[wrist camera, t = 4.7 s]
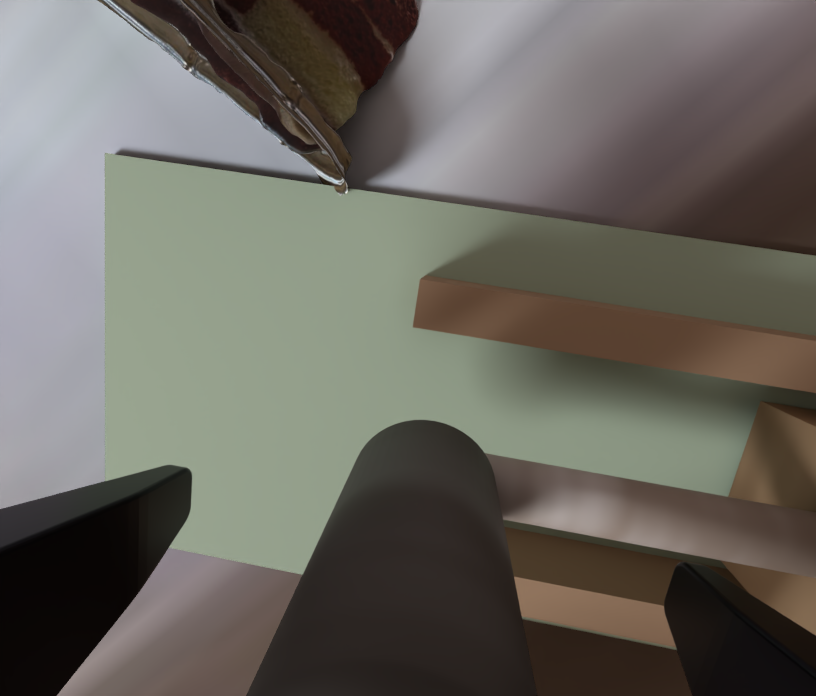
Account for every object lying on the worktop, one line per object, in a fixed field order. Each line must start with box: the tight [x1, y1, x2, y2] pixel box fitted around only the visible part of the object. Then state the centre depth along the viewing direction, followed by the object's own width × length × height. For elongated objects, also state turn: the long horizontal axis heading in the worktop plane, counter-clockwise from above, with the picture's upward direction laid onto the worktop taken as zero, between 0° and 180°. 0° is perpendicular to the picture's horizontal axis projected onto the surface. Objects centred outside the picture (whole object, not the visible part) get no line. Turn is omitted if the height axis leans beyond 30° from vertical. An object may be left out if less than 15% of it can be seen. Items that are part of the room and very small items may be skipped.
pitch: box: [105, 153, 816, 650], centre depth 12 cm, size 13×40×3 cm, turn 82°
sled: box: [246, 401, 816, 696], centre depth 9 cm, size 5×15×10 cm, turn 82°
